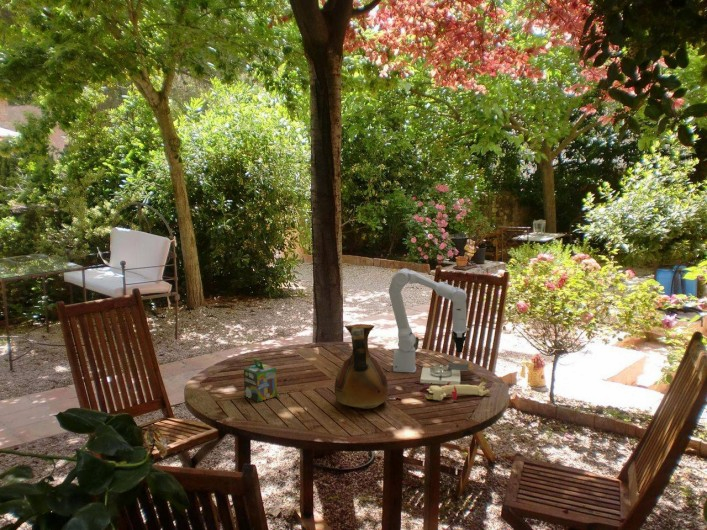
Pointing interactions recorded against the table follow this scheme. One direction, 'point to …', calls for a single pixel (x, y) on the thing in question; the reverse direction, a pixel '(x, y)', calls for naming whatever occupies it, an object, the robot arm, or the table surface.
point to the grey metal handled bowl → (449, 369)
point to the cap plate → (429, 378)
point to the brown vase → (361, 373)
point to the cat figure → (456, 390)
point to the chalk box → (260, 381)
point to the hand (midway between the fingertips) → (459, 349)
